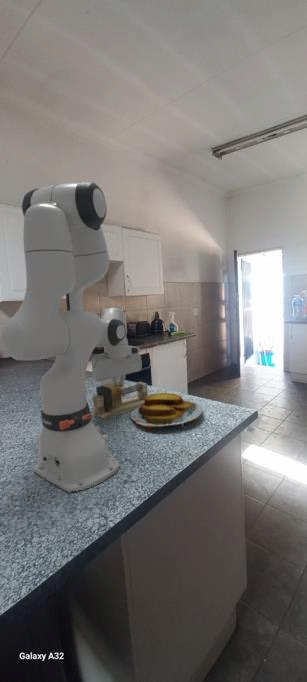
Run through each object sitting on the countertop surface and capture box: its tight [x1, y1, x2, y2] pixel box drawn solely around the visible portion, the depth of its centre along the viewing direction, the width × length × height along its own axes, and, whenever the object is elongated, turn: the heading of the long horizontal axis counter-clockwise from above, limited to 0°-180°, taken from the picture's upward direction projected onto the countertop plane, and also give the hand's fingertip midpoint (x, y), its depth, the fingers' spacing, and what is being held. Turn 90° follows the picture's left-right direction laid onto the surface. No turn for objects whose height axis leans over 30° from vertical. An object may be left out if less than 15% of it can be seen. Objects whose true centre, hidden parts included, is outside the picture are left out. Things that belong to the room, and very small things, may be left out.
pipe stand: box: [91, 381, 149, 420], centre depth 111 cm, size 9×22×7 cm, turn 131°
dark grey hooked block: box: [95, 385, 113, 409], centre depth 106 cm, size 6×2×7 cm, turn 41°
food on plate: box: [129, 392, 204, 432], centre depth 101 cm, size 25×25×7 cm
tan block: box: [102, 383, 123, 407], centre depth 108 cm, size 6×4×7 cm, turn 41°
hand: (119, 387), depth 110 cm, fingers closed
